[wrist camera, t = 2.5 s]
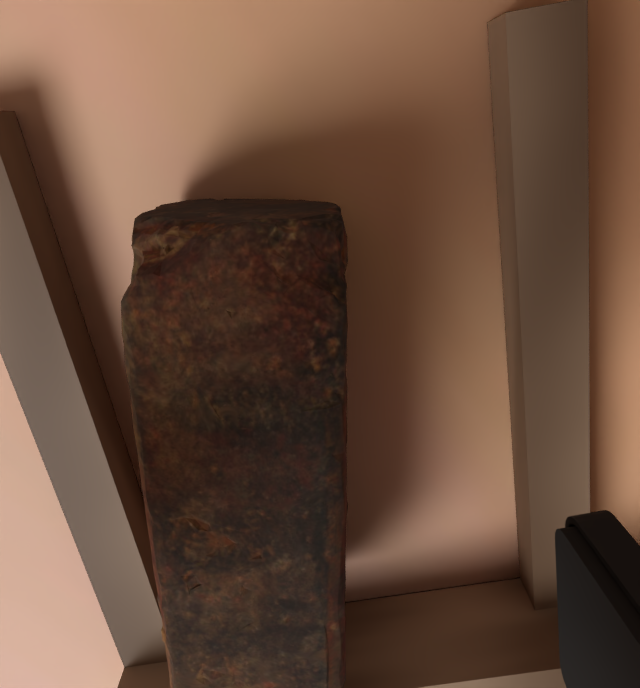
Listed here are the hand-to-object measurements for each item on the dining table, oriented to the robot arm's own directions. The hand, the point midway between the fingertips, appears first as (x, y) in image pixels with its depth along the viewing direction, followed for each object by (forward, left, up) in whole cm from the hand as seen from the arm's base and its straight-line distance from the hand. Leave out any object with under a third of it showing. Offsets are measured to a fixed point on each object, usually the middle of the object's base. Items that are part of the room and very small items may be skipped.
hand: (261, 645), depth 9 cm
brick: (0, -1, -7) cm, 7 cm away
